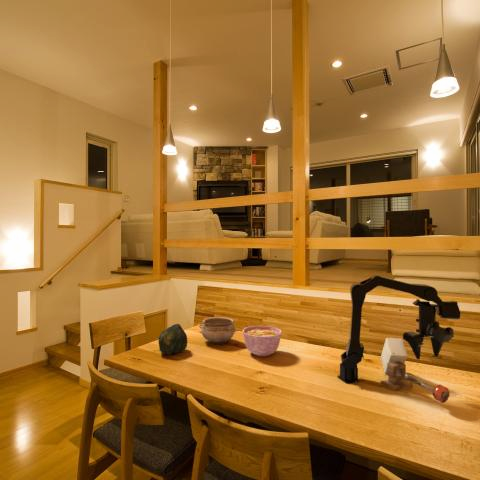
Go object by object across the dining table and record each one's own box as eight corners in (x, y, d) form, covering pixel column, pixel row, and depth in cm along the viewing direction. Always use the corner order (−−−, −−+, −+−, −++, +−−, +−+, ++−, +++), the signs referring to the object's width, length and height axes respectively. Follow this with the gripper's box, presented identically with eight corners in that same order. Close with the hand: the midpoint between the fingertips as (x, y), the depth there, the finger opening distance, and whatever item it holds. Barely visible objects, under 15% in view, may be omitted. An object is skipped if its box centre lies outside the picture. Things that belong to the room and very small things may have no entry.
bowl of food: (288, 351, 157) (288, 329, 157) (270, 364, 140) (270, 339, 140) (254, 344, 168) (254, 323, 168) (234, 355, 151) (234, 332, 151)
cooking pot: (244, 340, 175) (244, 319, 176) (231, 350, 158) (231, 327, 158) (206, 335, 185) (207, 314, 185) (190, 344, 168) (190, 322, 168)
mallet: (439, 404, 100) (439, 388, 100) (399, 383, 116) (399, 369, 116) (451, 402, 102) (451, 386, 102) (410, 381, 117) (410, 367, 117)
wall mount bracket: (392, 390, 116) (392, 368, 116) (380, 383, 122) (380, 362, 122) (412, 386, 119) (412, 365, 119) (400, 380, 125) (400, 359, 125)
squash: (147, 343, 153) (164, 322, 150) (165, 336, 167) (181, 317, 163) (164, 365, 148) (182, 344, 145) (181, 356, 162) (198, 337, 159)
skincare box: (400, 375, 130) (408, 357, 119) (383, 374, 131) (390, 356, 121) (395, 356, 136) (403, 337, 126) (379, 355, 137) (386, 337, 127)
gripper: (427, 324, 107) (427, 368, 107) (465, 320, 113) (465, 362, 113) (401, 317, 118) (401, 357, 118) (437, 314, 124) (437, 352, 123)
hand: (427, 357), depth 117 cm, fingers open, 9 cm apart
